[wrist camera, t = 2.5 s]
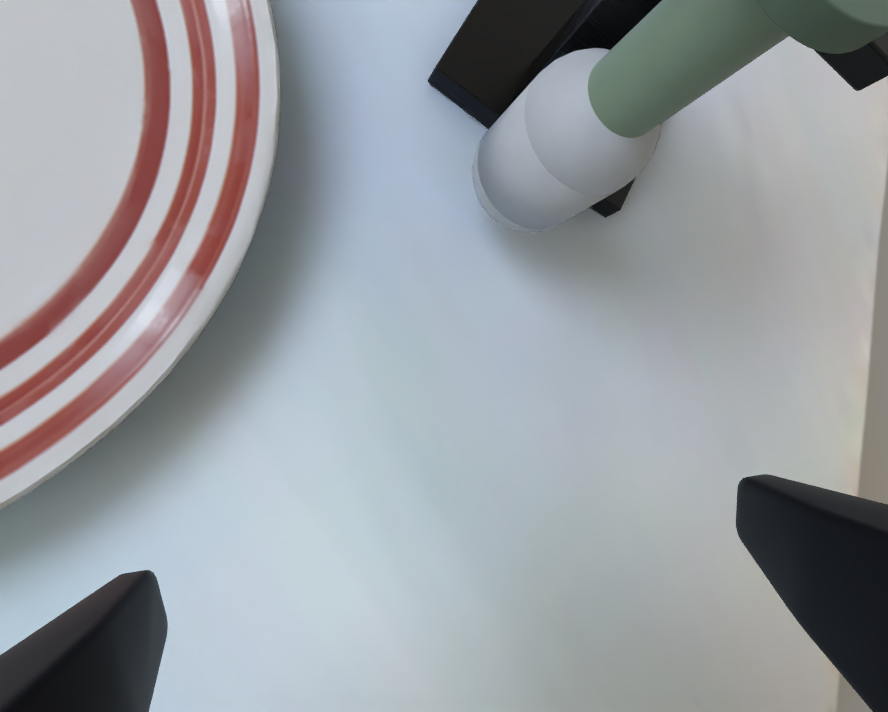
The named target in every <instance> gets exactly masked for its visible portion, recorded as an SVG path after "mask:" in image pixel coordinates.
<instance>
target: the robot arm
mask: <svg viewBox="0 0 888 712" xmlns="http://www.w3.org/2000/svg"><path fill="white" fill-rule="evenodd" d="M736 528H737V532H738V535H739V537H740V539H741V541H742V542H743V544H744V545H745V547H746V548H747V550H748V551H749V553H750V554H751V555H752V557H753V558H754V560H755V561H756V563H757V564H758V566H759V567H760V568H761V570H762V571H763V573H764V574H765V576H766V577H767V579H768V580H769V581H770V583H771V584H772V586H773V587H774V589H775V590H776V592H777V593H778V594H779V596H780V597H781V599H782V600H783V602H784V603H785V605H786V606H787V607H788V609H789V610H790V611H791V613H792V614H793V616H794V617H795V618H796V620H797V621H798V622H799V624H800V625H801V626H802V627H803V629H804V630H805V631H806V632H807V634H808V635H809V636H810V637H811V638H812V640H813V641H814V642H815V643H816V644H817V646H818V647H819V648H820V649H821V650H822V652H823V653H824V654H825V655H826V656H827V658H828V659H829V660H830V661H831V662H832V663H833V665H834V666H835V667H836V668H837V669H838V671H839V672H840V673H841V674H842V675H843V677H844V678H845V679H846V680H847V681H848V682H849V684H850V685H851V686H852V687H853V689H854V690H855V691H856V692H857V693H858V694H859V696H860V697H861V698H862V699H863V700H864V702H865V703H866V704H867V705H868V706H869V708H870V709H871V710H872V711H873V712H888V505H887V504H883V503H879V502H875V501H871V500H867V499H863V498H859V497H855V496H851V495H847V494H843V493H840V492H836V491H832V490H828V489H824V488H820V487H816V486H812V485H808V484H804V483H800V482H796V481H792V480H788V479H784V478H780V477H776V476H772V475H767V474H765V475H757V476H751V477H745V478H743V479H742V480H741V481H740V482H739V485H738V492H737V511H736ZM167 627H168V624H167V616H166V612H165V608H164V605H163V601H162V597H161V593H160V589H159V585H158V582H157V578H156V576H155V575H154V573H153V572H151V571H149V570H144V571H138V572H131V573H125V574H121V575H119V576H118V577H116V578H115V579H113V580H112V581H110V582H109V583H107V584H106V585H104V586H103V587H101V588H100V589H98V590H97V591H95V592H94V593H92V594H91V595H89V596H88V597H86V598H85V599H83V600H82V601H80V602H79V603H77V604H76V605H74V606H73V607H71V608H70V609H68V610H67V611H66V612H64V613H63V614H61V615H60V616H58V617H57V618H55V619H54V620H52V621H51V622H49V623H48V624H46V625H45V626H43V627H42V628H40V629H39V630H37V631H36V632H34V633H33V634H31V635H30V636H28V637H27V638H25V639H24V640H22V641H21V642H19V643H18V644H16V645H15V646H14V647H12V648H11V649H9V650H8V651H6V652H5V653H3V654H2V655H0V712H149V708H150V704H151V700H152V696H153V691H154V687H155V683H156V679H157V675H158V670H159V666H160V662H161V658H162V654H163V649H164V645H165V641H166V636H167Z"/></svg>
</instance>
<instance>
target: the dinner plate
mask: <svg viewBox="0 0 888 712" xmlns="http://www.w3.org/2000/svg"><path fill="white" fill-rule="evenodd" d="M279 117H280V66H279V52H278V42H277V35H276V28H275V23H274V17H273V12H272V7H271V2H270V0H0V510H1V509H2V508H4V507H6V506H7V505H9V504H11V503H13V502H14V501H16V500H18V499H19V498H21V497H23V496H25V495H26V494H28V493H30V492H31V491H33V490H35V489H36V488H37V487H39V486H40V485H42V484H43V483H44V482H46V481H47V480H49V479H50V478H52V477H53V476H54V475H56V474H57V473H59V472H60V471H61V470H63V469H64V468H65V467H67V466H68V465H69V464H71V463H72V462H73V461H75V460H76V459H77V458H79V457H80V456H81V455H82V454H84V453H85V452H86V451H87V450H88V449H90V448H91V447H92V446H93V445H94V444H96V443H97V442H98V441H99V440H101V439H102V438H103V437H104V436H105V435H107V434H108V433H109V432H110V431H112V430H113V429H114V428H115V427H116V426H118V425H119V424H120V423H121V422H122V421H123V420H124V419H125V418H126V417H127V416H128V415H129V414H130V413H131V412H132V411H133V410H135V409H136V408H137V407H138V406H139V405H140V404H141V403H142V402H143V401H144V400H145V399H146V398H147V397H148V396H149V395H150V394H151V392H152V391H153V390H154V389H155V388H156V387H157V386H158V385H159V384H160V383H161V382H162V381H163V380H164V379H165V377H166V376H167V375H168V374H169V373H170V372H171V371H172V369H173V368H174V367H175V366H176V365H177V364H178V362H179V361H180V360H181V359H182V358H183V356H184V355H185V354H186V352H187V351H188V350H189V349H190V347H191V346H192V345H193V344H194V342H195V341H196V339H197V338H198V336H199V335H200V334H201V332H202V331H203V329H204V328H205V326H206V325H207V323H208V322H209V321H210V319H211V318H212V316H213V315H214V313H215V311H216V310H217V308H218V306H219V305H220V303H221V301H222V299H223V298H224V296H225V294H226V293H227V291H228V289H229V287H230V286H231V284H232V282H233V281H234V279H235V277H236V275H237V273H238V271H239V268H240V266H241V264H242V262H243V260H244V257H245V255H246V253H247V250H248V248H249V246H250V243H251V241H252V239H253V236H254V233H255V231H256V228H257V225H258V222H259V219H260V216H261V214H262V211H263V208H264V205H265V202H266V199H267V195H268V191H269V187H270V183H271V179H272V174H273V169H274V163H275V157H276V151H277V143H278V135H279Z"/></svg>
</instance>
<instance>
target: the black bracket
mask: <svg viewBox="0 0 888 712" xmlns="http://www.w3.org/2000/svg"><path fill="white" fill-rule="evenodd" d="M661 1H662V0H478V1H477V2H476V4H475V5H474V7H473V9H472V10H471V12H470V13H469V15H468V16H467V18H466V20H465V21H464V23H463V24H462V26H461V27H460V29H459V31H458V32H457V34H456V35H455V37H454V39H453V40H452V42H451V43H450V45H449V46H448V48H447V50H446V51H445V53H444V54H443V56H442V58H441V59H440V61H439V62H438V64H437V65H436V67H435V69H434V70H433V72H432V74H431V75H430V77H429V79H428V82H429V83H430V84H431V85H433V86H434V87H435V88H437V89H438V90H439V91H440V92H442V93H443V94H444V95H446V96H447V97H448V98H450V99H451V100H452V101H454V102H455V103H456V104H458V105H459V106H460V107H461V108H463V109H464V110H465V111H467V112H468V113H469V114H471V115H472V116H473V117H475V118H476V119H477V120H479V121H480V122H481V123H482V124H484V125H485V126H486V127H488V128H490V127H491V126H492V125H493V124H494V123H495V122H496V121H497V120H498V118H499V117H500V116H501V115H502V114H503V113H504V112H505V111H506V110H507V108H508V107H509V106H510V105H511V104H512V103H513V102H514V101H515V100H516V98H517V97H518V96H519V95H520V94H521V93H522V92H523V91H524V90H525V88H526V87H527V86H528V85H529V84H530V83H531V82H532V81H533V80H534V78H535V77H536V76H537V75H538V74H539V73H540V72H541V71H542V70H544V69H545V68H546V67H547V66H548V65H550V64H551V63H552V62H553V61H555V60H556V59H558V58H560V57H563V56H565V55H567V54H569V53H571V52H574V51H577V50H583V49H590V48H602V49H608V50H611V49H612V48H613V47H614V46H615V45H616V44H617V43H618V42H619V41H620V40H621V39H622V38H623V37H624V36H625V35H626V34H628V33H629V32H630V31H631V30H632V29H633V28H634V27H635V26H636V25H637V24H638V23H639V22H640V21H641V20H642V19H643V18H644V17H645V16H646V15H647V14H648V13H649V12H650V11H651V10H652V9H653V8H654V7H656V6H657V5H658V4H659V3H660V2H661ZM815 51H816V52H817V53H818V54H819V55H820V56H821V57H822V58H823V59H824V60H825V61H826V62H827V63H828V64H829V65H830V66H831V67H832V68H833V69H834V70H835V71H836V72H837V73H838V74H839V75H840V76H841V77H842V78H843V79H844V80H845V81H846V82H847V83H848V84H849V85H850V86H852V87H853V88H854V89H855V90H856V91H859V90H861V89H863V88H865V87H867V86H869V85H871V84H873V83H875V82H877V81H879V80H881V79H883V78H884V77H886V76H888V32H887V33H885V34H883V35H882V36H880V37H878V38H876V39H875V40H873V41H871V42H870V43H868V44H866V45H865V46H863V47H861V48H859V49H857V50H854V51H852V52H846V53H841V54H833V53H825V52H820V51H817V50H815ZM635 178H636V177H635ZM635 178H634V179H633V180H632V181H630V182H629V183H628V184H627V185H625V186H624V187H622V188H621V189H619V190H618V191H616V192H614V193H613V194H611V195H609V196H607V197H606V198H604V199H602V200H601V201H599V202H597V203H595V204H594V205H592V206H591V207H593V208H594V209H595V210H596V211H598V212H599V213H600V214H602V215H603V216H604V217H608V216H610V215H612V214H614V213H616V212H618V211H619V210H621V208H622V205H623V203H624V201H625V199H626V197H627V195H628V193H629V191H630V189H631V186H632V184H633V182H634V180H635Z"/></svg>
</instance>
